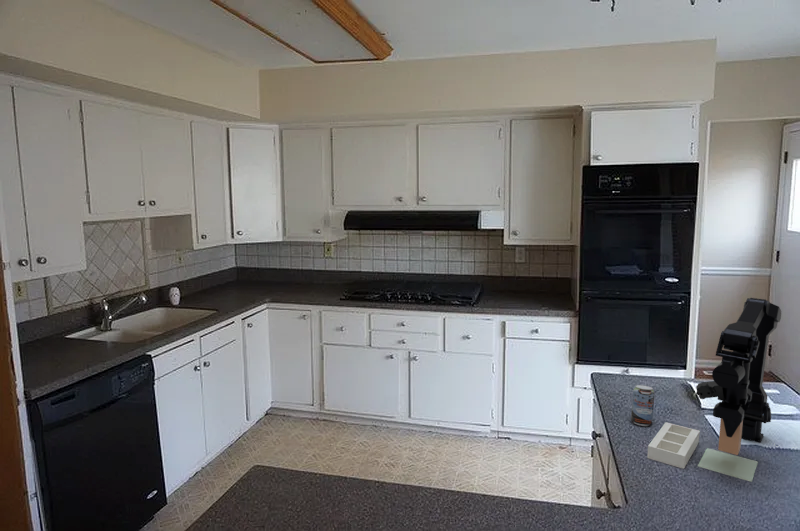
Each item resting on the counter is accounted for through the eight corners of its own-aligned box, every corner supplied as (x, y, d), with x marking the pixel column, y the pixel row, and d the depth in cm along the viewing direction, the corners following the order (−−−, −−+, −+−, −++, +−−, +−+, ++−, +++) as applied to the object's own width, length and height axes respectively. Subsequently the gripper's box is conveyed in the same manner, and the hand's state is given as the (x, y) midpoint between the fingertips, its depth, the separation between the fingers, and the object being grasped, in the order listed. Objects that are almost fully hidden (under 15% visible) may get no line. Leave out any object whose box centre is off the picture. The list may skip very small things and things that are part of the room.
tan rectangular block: (720, 443, 145) (723, 409, 143) (740, 448, 142) (744, 413, 140) (717, 450, 141) (720, 415, 140) (738, 455, 138) (741, 419, 137)
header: (664, 434, 160) (665, 422, 159) (698, 443, 154) (699, 430, 153) (647, 459, 146) (648, 445, 145) (683, 470, 140) (684, 456, 140)
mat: (706, 449, 150) (707, 447, 150) (757, 463, 143) (758, 461, 143) (697, 468, 141) (697, 465, 141) (751, 483, 134) (751, 481, 134)
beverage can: (630, 427, 165) (632, 390, 163) (630, 417, 172) (632, 381, 170) (653, 430, 162) (655, 392, 161) (652, 420, 169) (654, 384, 167)
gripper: (707, 360, 150) (703, 412, 153) (692, 380, 136) (688, 438, 139) (754, 368, 143) (749, 423, 146) (744, 390, 129) (738, 451, 132)
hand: (730, 433), depth 141 cm, fingers closed on tan rectangular block, 4 cm apart
